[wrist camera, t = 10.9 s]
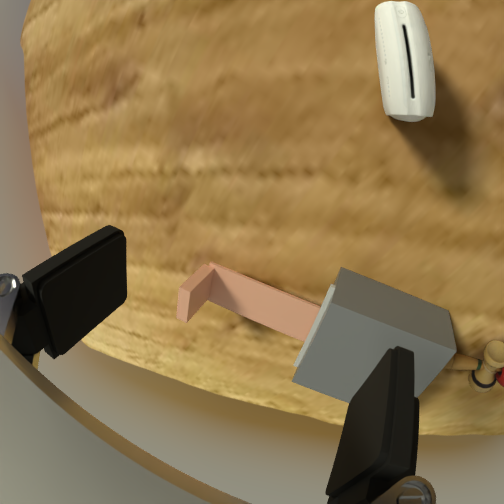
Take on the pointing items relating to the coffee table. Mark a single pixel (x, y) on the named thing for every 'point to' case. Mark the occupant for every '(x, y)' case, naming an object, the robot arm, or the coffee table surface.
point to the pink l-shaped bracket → (246, 300)
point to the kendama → (482, 367)
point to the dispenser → (371, 336)
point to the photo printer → (404, 61)
